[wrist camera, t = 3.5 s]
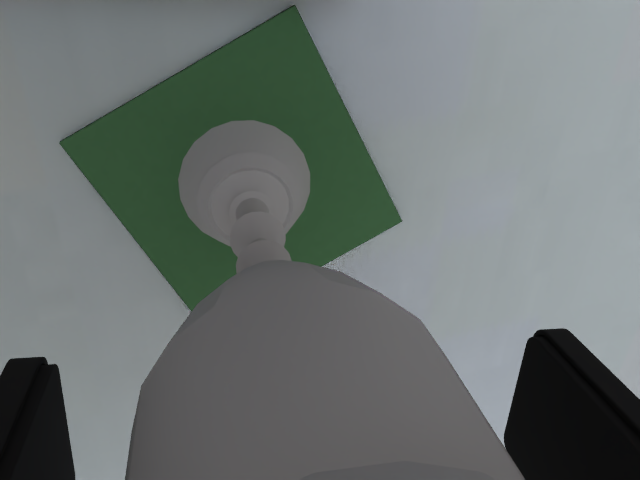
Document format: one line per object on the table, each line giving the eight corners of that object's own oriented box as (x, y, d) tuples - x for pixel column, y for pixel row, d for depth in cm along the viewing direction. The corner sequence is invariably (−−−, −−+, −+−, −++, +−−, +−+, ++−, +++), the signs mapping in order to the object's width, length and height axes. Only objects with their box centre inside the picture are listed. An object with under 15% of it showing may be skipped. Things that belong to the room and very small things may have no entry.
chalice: (129, 108, 20) (-135, 659, 4) (318, 73, 21) (723, 423, 5) (181, 286, 23) (147, 976, 7) (343, 250, 24) (632, 808, 8)
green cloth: (206, 328, 25) (206, 330, 24) (60, 141, 20) (58, 143, 20) (400, 219, 24) (402, 221, 24) (294, 4, 20) (295, 5, 20)
